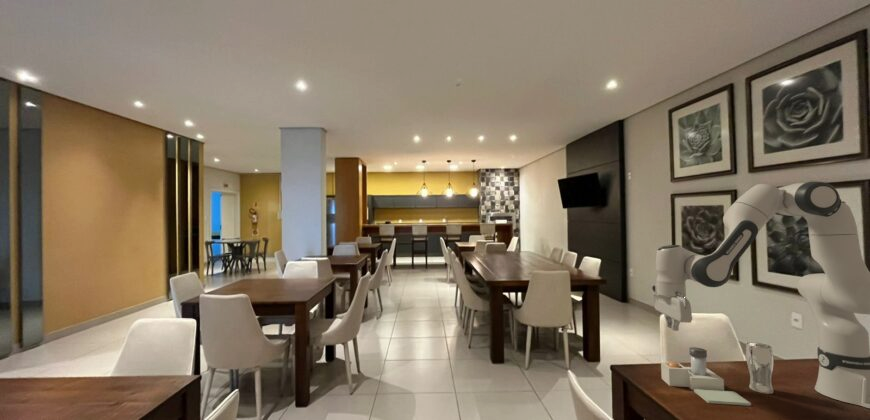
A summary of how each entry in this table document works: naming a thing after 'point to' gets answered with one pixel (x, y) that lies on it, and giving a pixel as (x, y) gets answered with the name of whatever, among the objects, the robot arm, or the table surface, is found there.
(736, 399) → the mat
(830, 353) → the robot arm
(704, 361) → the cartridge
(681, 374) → the housing
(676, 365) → the release button
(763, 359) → the beer glass
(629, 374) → the table surface
